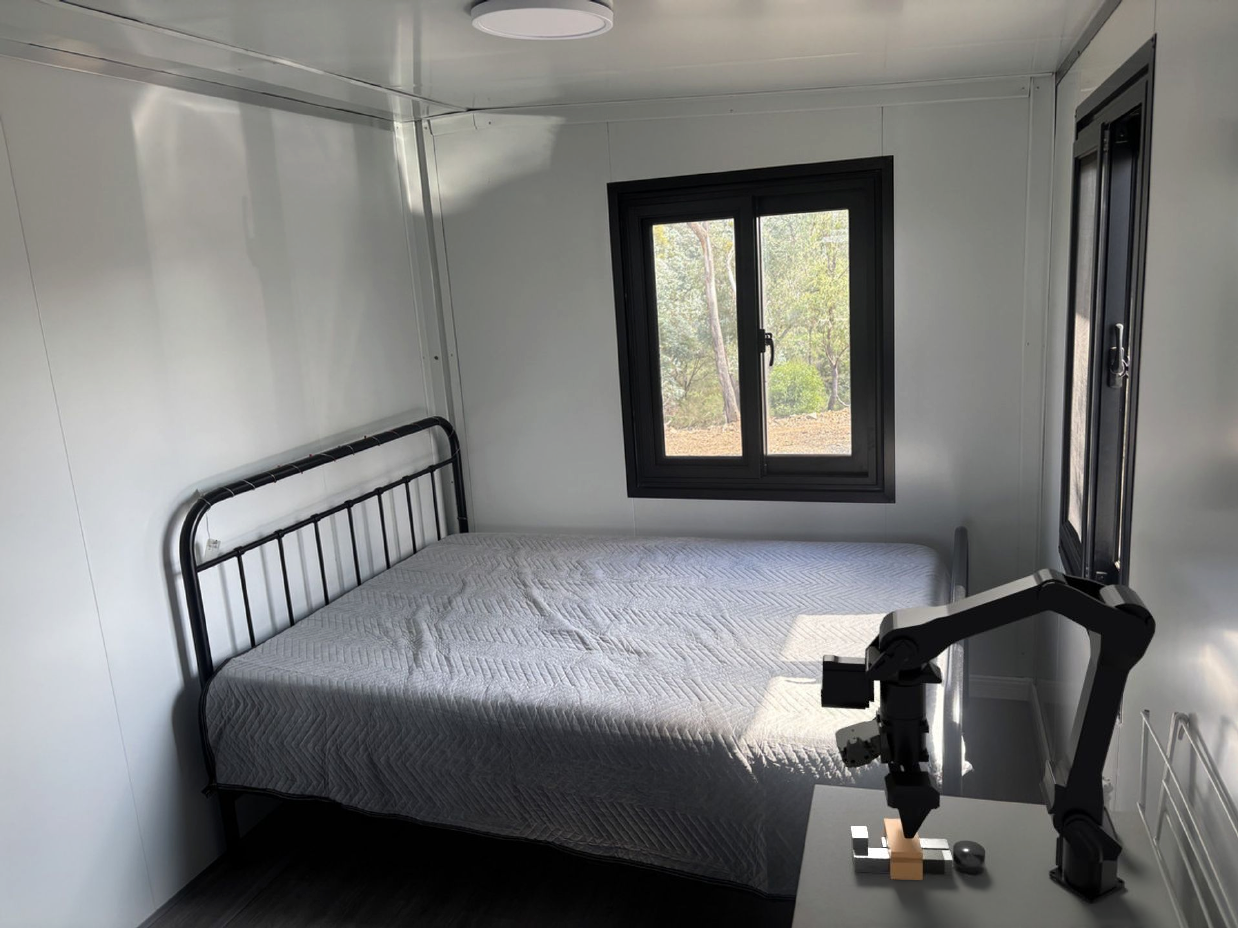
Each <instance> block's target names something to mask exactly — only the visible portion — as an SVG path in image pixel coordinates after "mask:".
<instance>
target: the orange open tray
mask: <svg viewBox="0 0 1238 928" xmlns="http://www.w3.org/2000/svg"><path fill="white" fill-rule="evenodd" d="M883 838H886V841H887V846H888V851H889V856H890V873H889V876H890V879H891V880H904V881H905V880H907V881H909V880H912V881H923V875H924V874H923V852H922V848H921V844H920V840H919V838H920V837H919V833H918V831H917V833H916V835H915V836H914V838H912V839H906V838H905V837H904V833H903V829H902V824H901V820H900V818H884V817H883Z"/></svg>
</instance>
